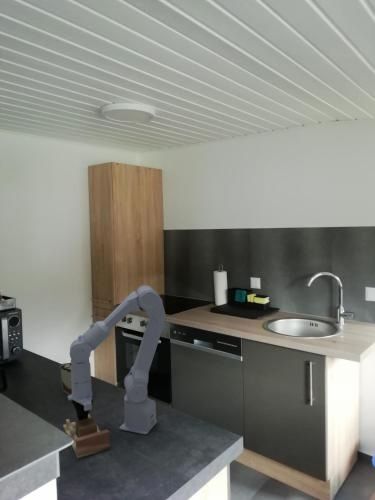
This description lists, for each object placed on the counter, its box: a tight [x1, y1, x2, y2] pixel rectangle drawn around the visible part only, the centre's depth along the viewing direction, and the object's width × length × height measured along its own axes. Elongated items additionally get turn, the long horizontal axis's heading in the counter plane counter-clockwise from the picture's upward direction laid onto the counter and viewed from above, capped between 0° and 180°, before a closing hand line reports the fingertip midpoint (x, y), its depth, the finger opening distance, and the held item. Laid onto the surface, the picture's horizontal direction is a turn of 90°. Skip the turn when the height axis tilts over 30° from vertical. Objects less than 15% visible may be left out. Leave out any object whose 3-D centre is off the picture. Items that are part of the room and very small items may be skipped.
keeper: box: [74, 416, 98, 438], centre depth 112 cm, size 5×5×4 cm
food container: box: [59, 362, 72, 396], centre depth 144 cm, size 12×6×10 cm, turn 47°
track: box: [62, 414, 111, 460], centre depth 113 cm, size 18×9×5 cm, turn 30°
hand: (83, 423), depth 115 cm, fingers closed
